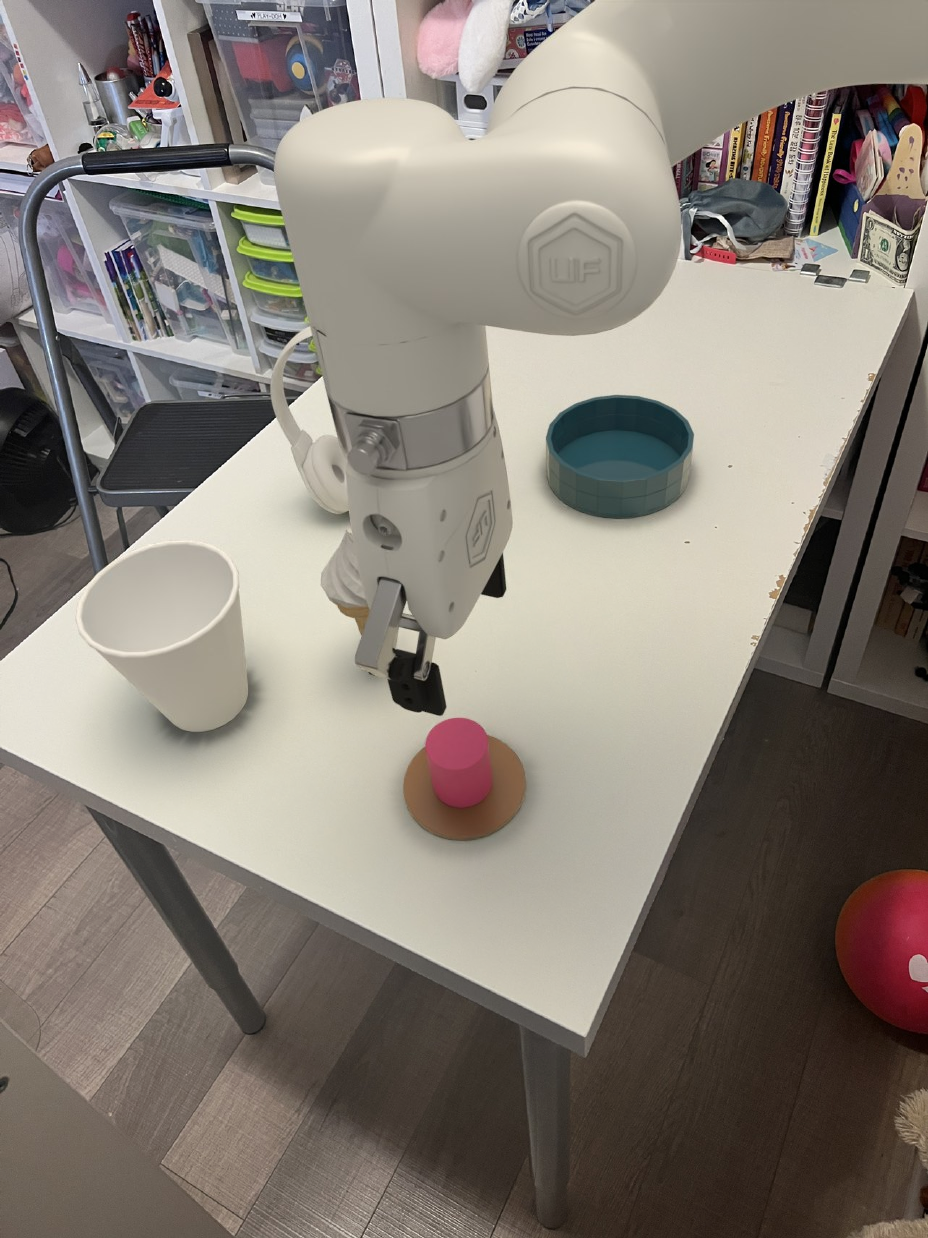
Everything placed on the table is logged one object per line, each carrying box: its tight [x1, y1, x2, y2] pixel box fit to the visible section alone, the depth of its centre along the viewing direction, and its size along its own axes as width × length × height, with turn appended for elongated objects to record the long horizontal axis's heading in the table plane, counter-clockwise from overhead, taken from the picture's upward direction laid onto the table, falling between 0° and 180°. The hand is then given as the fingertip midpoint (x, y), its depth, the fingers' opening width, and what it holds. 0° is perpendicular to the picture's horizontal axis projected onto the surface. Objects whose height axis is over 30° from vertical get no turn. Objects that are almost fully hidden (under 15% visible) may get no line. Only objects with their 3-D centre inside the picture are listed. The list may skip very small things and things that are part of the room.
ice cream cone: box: [320, 529, 370, 637], centre depth 69 cm, size 6×6×15 cm
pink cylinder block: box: [424, 717, 492, 808], centre depth 63 cm, size 4×4×5 cm
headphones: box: [269, 325, 349, 515], centre depth 81 cm, size 7×18×20 cm, turn 82°
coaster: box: [403, 734, 527, 841], centre depth 65 cm, size 9×9×1 cm
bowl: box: [545, 394, 695, 519], centre depth 87 cm, size 14×14×4 cm
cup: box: [74, 539, 249, 733], centre depth 68 cm, size 12×12×12 cm
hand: (452, 645), depth 54 cm, fingers open, 9 cm apart
